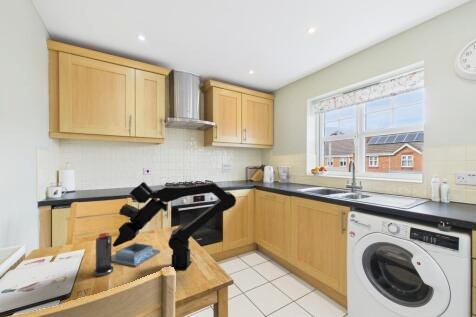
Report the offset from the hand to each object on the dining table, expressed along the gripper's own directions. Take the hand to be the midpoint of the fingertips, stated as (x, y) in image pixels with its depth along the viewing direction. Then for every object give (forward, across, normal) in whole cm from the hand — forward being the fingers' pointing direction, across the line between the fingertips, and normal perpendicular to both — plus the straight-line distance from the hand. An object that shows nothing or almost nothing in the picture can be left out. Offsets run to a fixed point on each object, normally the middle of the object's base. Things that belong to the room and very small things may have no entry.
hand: (118, 241), depth 80 cm
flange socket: (+6, -12, +10) cm, 17 cm away
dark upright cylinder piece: (+12, 0, +5) cm, 12 cm away
